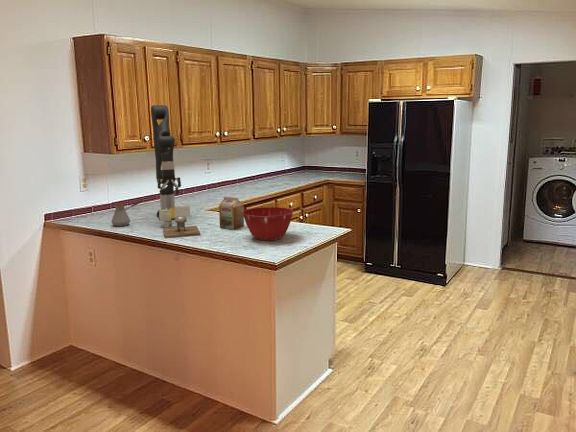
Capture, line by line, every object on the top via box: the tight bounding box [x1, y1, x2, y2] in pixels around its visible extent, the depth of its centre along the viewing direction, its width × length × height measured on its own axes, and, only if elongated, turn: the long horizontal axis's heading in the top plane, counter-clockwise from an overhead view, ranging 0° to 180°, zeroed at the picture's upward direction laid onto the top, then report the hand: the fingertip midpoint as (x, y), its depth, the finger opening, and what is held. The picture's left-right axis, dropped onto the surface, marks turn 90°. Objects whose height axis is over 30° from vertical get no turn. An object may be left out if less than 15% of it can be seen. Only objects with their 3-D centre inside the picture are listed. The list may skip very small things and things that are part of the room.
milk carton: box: [218, 196, 245, 231], centre depth 309 cm, size 11×11×19 cm
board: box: [162, 222, 201, 239], centre depth 298 cm, size 20×20×6 cm
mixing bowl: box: [242, 206, 294, 242], centre depth 284 cm, size 28×28×16 cm
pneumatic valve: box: [156, 208, 175, 228], centre depth 314 cm, size 6×12×12 cm, turn 79°
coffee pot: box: [111, 199, 145, 228], centre depth 322 cm, size 21×12×15 cm, turn 120°
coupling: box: [170, 205, 191, 224], centre depth 297 cm, size 7×11×9 cm, turn 106°
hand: (170, 194), depth 315 cm, fingers open, 8 cm apart
